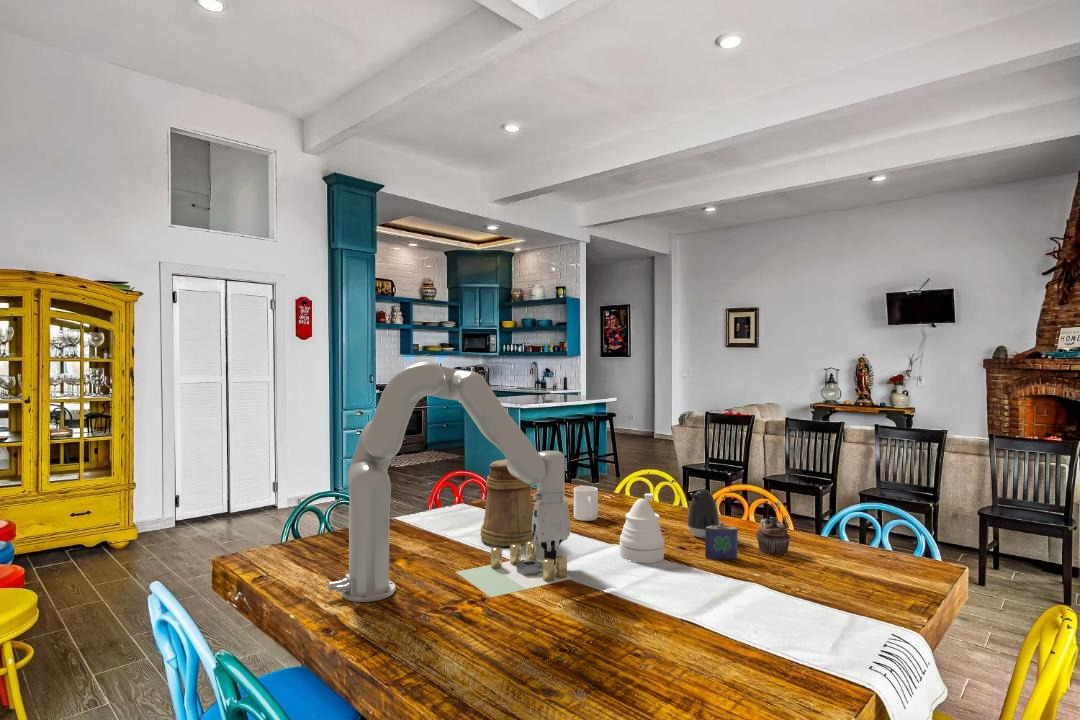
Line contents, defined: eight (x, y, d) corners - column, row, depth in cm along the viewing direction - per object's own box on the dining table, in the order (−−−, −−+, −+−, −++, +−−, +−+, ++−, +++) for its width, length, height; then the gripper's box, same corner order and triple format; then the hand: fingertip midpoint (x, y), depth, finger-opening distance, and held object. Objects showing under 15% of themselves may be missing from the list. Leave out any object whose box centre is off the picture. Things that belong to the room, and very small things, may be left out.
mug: (579, 524, 210) (579, 493, 210) (571, 515, 222) (571, 486, 222) (603, 523, 212) (603, 492, 212) (594, 514, 224) (594, 485, 223)
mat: (490, 600, 144) (490, 597, 144) (455, 574, 161) (455, 571, 161) (572, 581, 157) (572, 578, 157) (532, 559, 174) (532, 556, 174)
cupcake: (795, 557, 177) (795, 522, 177) (762, 556, 177) (762, 522, 177) (783, 546, 187) (783, 514, 187) (751, 546, 187) (751, 514, 187)
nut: (526, 577, 157) (526, 569, 157) (513, 569, 163) (513, 561, 163) (546, 573, 160) (546, 564, 160) (532, 565, 166) (532, 557, 166)
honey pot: (661, 549, 184) (662, 490, 183) (666, 564, 171) (666, 500, 171) (618, 548, 185) (619, 488, 185) (620, 562, 172) (620, 498, 172)
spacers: (522, 588, 150) (523, 567, 150) (489, 566, 165) (489, 548, 165) (569, 577, 158) (569, 558, 158) (532, 557, 173) (532, 540, 173)
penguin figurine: (680, 533, 200) (680, 487, 200) (705, 530, 204) (705, 485, 204) (700, 542, 190) (700, 494, 190) (726, 538, 195) (726, 491, 195)
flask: (736, 557, 177) (736, 520, 177) (739, 560, 174) (739, 523, 174) (704, 556, 177) (704, 520, 177) (706, 560, 174) (706, 522, 174)
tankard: (477, 548, 184) (477, 465, 183) (485, 526, 207) (485, 453, 207) (537, 548, 183) (537, 466, 183) (538, 526, 207) (538, 453, 207)
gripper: (534, 503, 158) (534, 573, 158) (580, 496, 166) (580, 563, 166) (519, 497, 164) (519, 565, 164) (565, 491, 172) (564, 555, 172)
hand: (550, 564), depth 165 cm, fingers closed
